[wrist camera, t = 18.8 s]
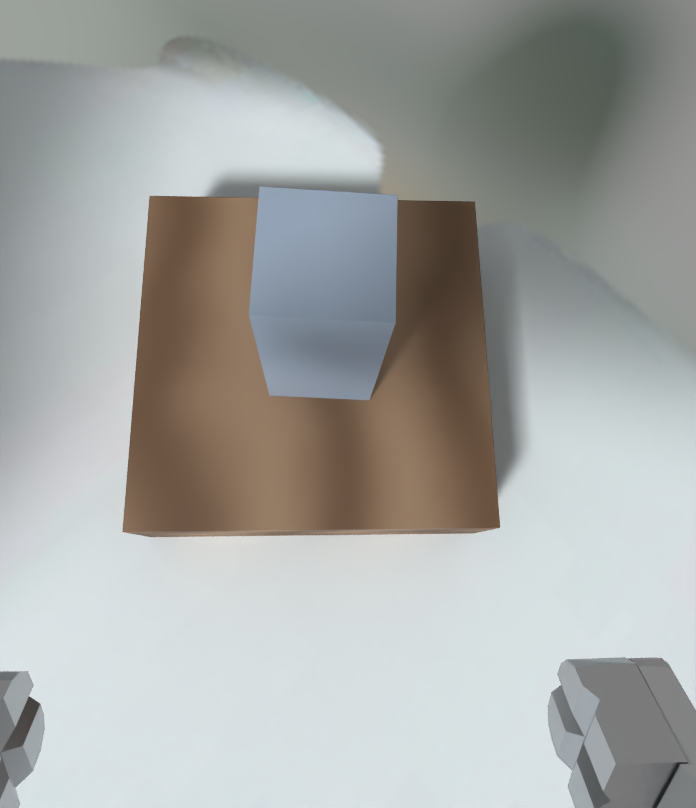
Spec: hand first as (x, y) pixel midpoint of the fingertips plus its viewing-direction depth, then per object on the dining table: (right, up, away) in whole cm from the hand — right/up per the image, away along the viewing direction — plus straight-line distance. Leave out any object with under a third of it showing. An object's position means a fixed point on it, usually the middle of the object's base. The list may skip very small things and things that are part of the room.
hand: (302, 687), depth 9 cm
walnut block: (-1, +5, +23) cm, 24 cm away
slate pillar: (0, +7, +18) cm, 20 cm away
